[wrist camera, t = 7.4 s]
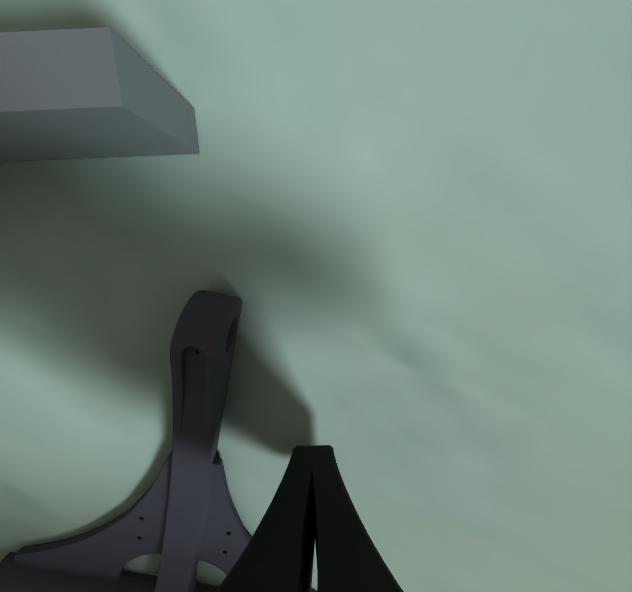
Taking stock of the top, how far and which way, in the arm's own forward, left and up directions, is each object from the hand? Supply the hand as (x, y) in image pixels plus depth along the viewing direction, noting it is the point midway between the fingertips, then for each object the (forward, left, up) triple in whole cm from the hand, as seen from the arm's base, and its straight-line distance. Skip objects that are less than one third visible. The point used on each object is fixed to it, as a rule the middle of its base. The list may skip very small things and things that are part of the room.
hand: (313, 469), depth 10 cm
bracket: (-1, +5, -2) cm, 5 cm away
